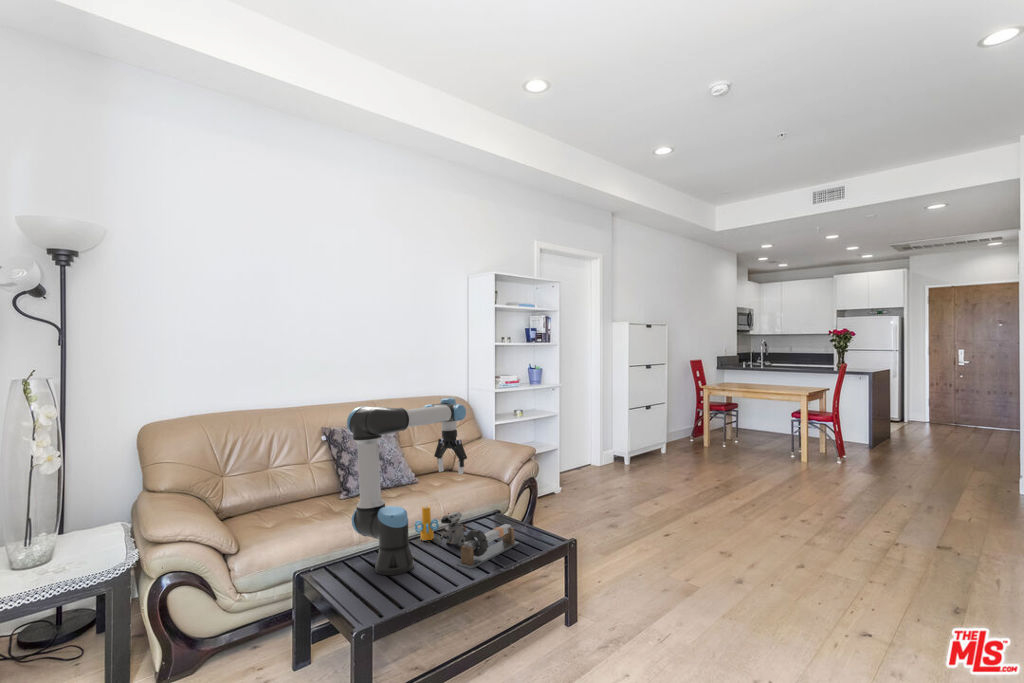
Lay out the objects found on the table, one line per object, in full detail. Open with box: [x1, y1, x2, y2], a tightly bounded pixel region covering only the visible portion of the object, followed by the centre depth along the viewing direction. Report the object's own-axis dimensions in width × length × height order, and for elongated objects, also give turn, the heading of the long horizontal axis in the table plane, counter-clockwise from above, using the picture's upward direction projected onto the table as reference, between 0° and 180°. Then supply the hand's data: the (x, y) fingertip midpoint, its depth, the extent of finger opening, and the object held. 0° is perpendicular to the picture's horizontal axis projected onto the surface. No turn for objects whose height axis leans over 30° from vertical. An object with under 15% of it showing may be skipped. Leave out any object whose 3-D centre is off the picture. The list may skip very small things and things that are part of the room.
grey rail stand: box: [456, 523, 519, 569], centre depth 219 cm, size 32×8×9 cm, turn 144°
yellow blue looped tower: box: [414, 505, 440, 540], centre depth 241 cm, size 12×10×15 cm
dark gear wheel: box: [465, 528, 489, 557], centre depth 212 cm, size 2×10×10 cm, turn 54°
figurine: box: [440, 511, 467, 550], centre depth 228 cm, size 9×12×15 cm
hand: (450, 472), depth 255 cm, fingers open, 13 cm apart
